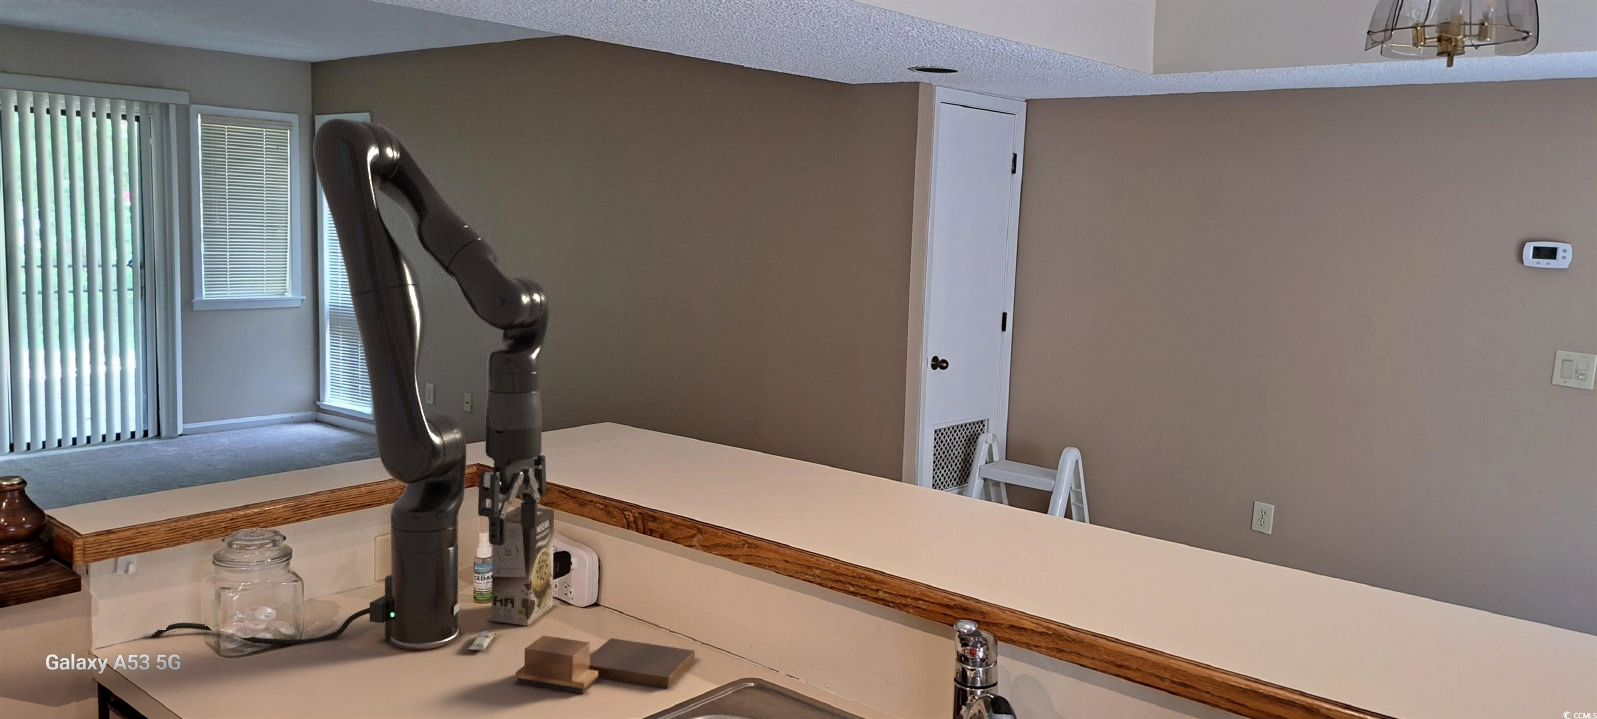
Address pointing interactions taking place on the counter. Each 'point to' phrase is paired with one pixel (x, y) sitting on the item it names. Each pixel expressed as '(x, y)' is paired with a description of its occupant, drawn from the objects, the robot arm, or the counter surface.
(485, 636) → the granola bar
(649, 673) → the board
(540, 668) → the stepped wooden block
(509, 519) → the coffee box
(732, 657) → the counter surface
